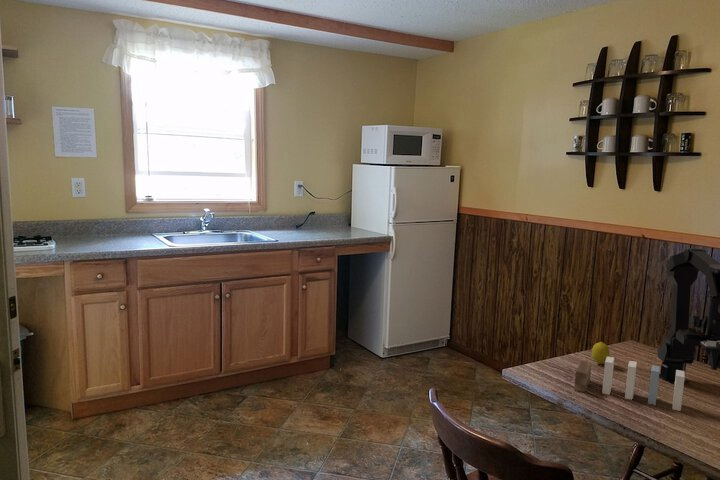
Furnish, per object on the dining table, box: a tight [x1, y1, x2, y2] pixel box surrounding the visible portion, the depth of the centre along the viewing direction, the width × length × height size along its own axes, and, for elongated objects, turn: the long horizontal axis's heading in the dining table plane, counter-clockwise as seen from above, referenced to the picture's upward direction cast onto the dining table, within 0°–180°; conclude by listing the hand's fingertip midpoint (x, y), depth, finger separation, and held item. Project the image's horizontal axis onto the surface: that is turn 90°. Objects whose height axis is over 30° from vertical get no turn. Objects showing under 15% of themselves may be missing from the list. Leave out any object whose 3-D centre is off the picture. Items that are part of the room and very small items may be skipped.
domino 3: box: [671, 370, 686, 412], centre depth 145 cm, size 2×5×10 cm, turn 148°
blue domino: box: [647, 364, 661, 406], centre depth 149 cm, size 2×5×10 cm, turn 149°
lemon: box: [591, 341, 611, 365], centre depth 176 cm, size 6×6×8 cm
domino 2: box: [624, 360, 638, 401], centre depth 152 cm, size 2×5×10 cm, turn 148°
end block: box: [573, 360, 592, 393], centre depth 159 cm, size 3×10×6 cm, turn 148°
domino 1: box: [601, 356, 615, 396], centre depth 155 cm, size 2×5×10 cm, turn 148°
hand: (713, 369), depth 140 cm, fingers closed
